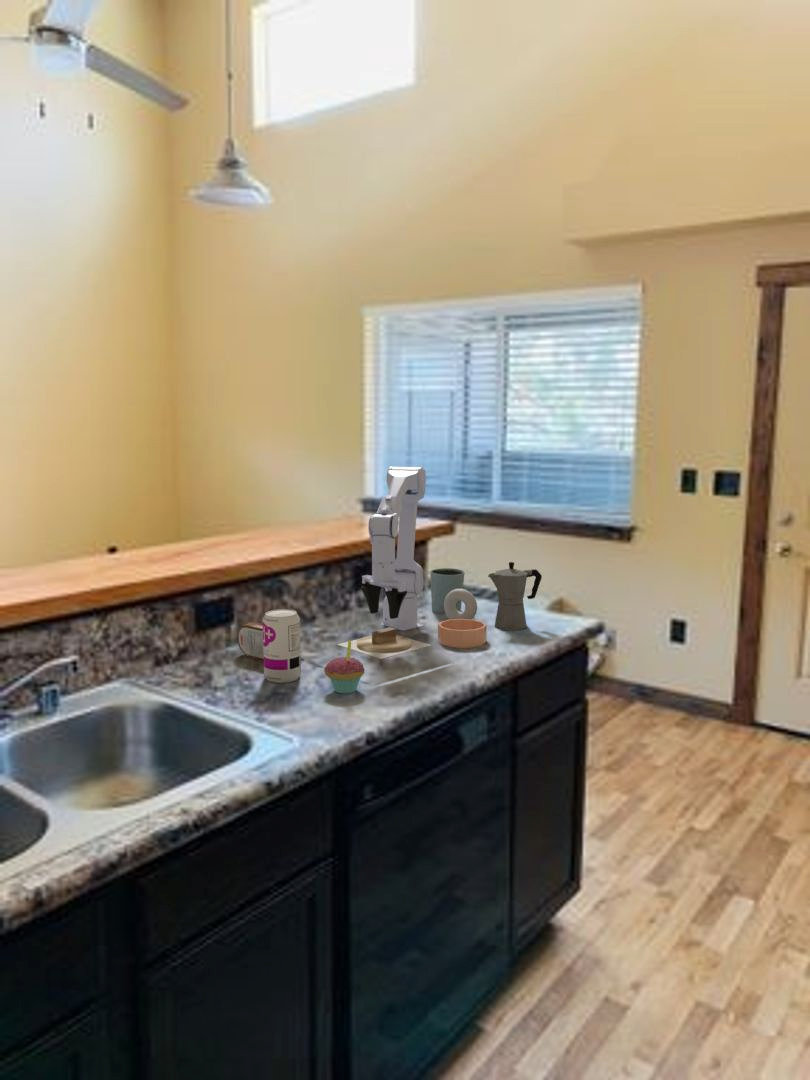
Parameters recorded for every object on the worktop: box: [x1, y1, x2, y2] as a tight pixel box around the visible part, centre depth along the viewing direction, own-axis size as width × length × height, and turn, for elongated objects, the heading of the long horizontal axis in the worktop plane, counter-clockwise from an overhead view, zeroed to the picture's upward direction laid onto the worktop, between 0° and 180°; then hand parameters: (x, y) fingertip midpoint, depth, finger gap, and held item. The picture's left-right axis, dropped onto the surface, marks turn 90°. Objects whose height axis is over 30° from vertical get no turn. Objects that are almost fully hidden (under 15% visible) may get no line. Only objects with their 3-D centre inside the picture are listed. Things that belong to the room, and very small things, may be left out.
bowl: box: [437, 619, 488, 649], centre depth 220 cm, size 12×12×5 cm
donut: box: [444, 588, 478, 620], centre depth 239 cm, size 10×3×10 cm, turn 61°
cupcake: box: [324, 637, 365, 694], centre depth 183 cm, size 9×8×12 cm
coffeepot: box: [487, 561, 543, 631], centre depth 236 cm, size 15×9×18 cm, turn 103°
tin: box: [236, 621, 264, 661], centre depth 207 cm, size 15×3×8 cm, turn 54°
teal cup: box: [429, 567, 465, 615], centre depth 254 cm, size 10×10×12 cm
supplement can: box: [262, 609, 302, 684], centre depth 191 cm, size 8×8×15 cm
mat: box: [337, 638, 432, 660], centre depth 217 cm, size 17×17×1 cm
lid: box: [356, 626, 412, 653], centre depth 216 cm, size 14×14×4 cm
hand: (383, 615), depth 216 cm, fingers open, 7 cm apart
